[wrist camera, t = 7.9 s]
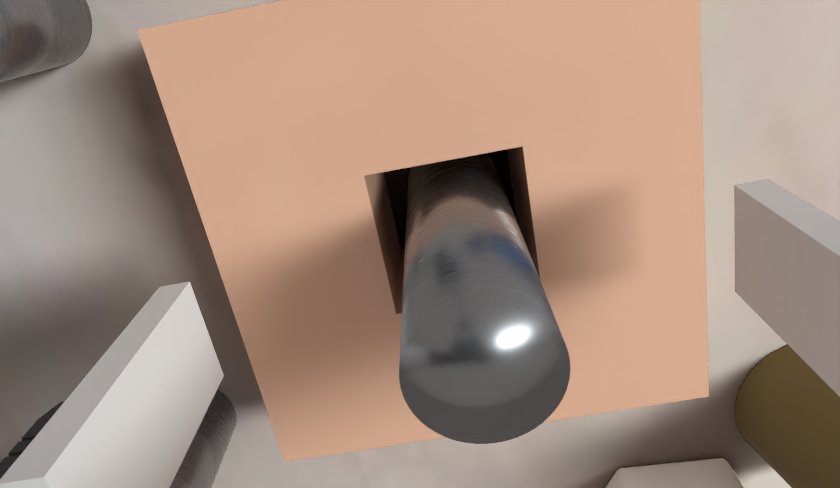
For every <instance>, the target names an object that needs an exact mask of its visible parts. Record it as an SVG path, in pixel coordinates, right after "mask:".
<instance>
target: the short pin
mask: <svg viewBox="0 0 840 488" xmlns="http://www.w3.org/2000/svg"><path fill="white" fill-rule="evenodd" d="M91 33H92V19H91V14H90V10H89V7H88V4H87V2H86V0H0V82H3V81H7V80H10V79H14V78H18V77H22V76H26V75H30V74H33V73H37V72H41V71H45V70H49V69H52V68H56V67H60V66H64V65H67V64H69V63H72V62H73V61H75V60H76V59H78V58H79V57H80V56H81V55H82V54H83V52H84V51H85V50H86V48H87V46H88V44H89V41H90V38H91Z"/></svg>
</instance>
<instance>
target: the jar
mask: <svg viewBox="0 0 840 488" xmlns="http://www.w3.org/2000/svg"><path fill="white" fill-rule="evenodd" d="M606 488H747V487H746V486H745V485H744V483H743V482H742V481H741V479H740V478H739V476H738V475H737V474H736V472H735V471H734V470H733V468H732V467H731V466H730V464H729V463H728V462H727V461H726V460H725V459H722V458H715V459H706V460H696V461H686V462H676V463H666V464H656V465H646V466H636V467H627V468H620V469H618V470H617V471H616V473H615V474H614V476H613V477H612V479H611V480H610V482H609V483H608V485H607V486H606Z"/></svg>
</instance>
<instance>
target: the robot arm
mask: <svg viewBox="0 0 840 488" xmlns="http://www.w3.org/2000/svg"><path fill="white" fill-rule="evenodd" d="M734 202H735V292H736V293H737V294H738V295H739V296H740V297H741V298H742V299H743V300H744V301H745V302H746V303H747V304H748V305H749V306H750V307H751V308H752V309H753V310H754V311H755V312H756V313H757V314H758V315H759V316H760V317H761V318H762V319H763V320H764V321H765V322H766V323H767V324H768V325H769V326H770V327H771V328H772V329H773V330H774V331H775V332H776V333H777V334H778V335H779V336H780V337H781V338H782V339H783V340H784V341H785V342H786V343H787V344H788V345H789V346H790V347H791V348H792V349H793V350H794V351H795V352H796V353H797V354H798V355H799V356H800V357H801V358H802V359H803V360H804V361H805V362H806V363H807V364H808V365H809V366H810V367H811V368H812V369H813V370H814V371H815V373H816V374H817V375H818V376H819V377H820V378H821V379H822V380H823V381H824V382H825V383H826V384H827V385H828V386H829V387H830V388H831V389H832V390H833V391H834V392H835V393H836V394H837V395H838V396H839V397H840V221H839V220H837V219H835V218H834V217H832V216H830V215H828V214H827V213H825V212H823V211H822V210H820V209H818V208H817V207H815V206H813V205H811V204H810V203H808V202H806V201H805V200H803V199H801V198H800V197H798V196H796V195H795V194H793V193H791V192H789V191H788V190H786V189H784V188H783V187H781V186H779V185H778V184H776V183H774V182H773V181H771V180H769V179H767V180H761V181H755V182H750V183H744V184H738V185H734ZM223 377H224V374H223V372H222V369H221V366H220V363H219V361H218V358H217V355H216V352H215V350H214V347H213V344H212V341H211V339H210V336H209V333H208V330H207V328H206V325H205V322H204V319H203V317H202V314H201V311H200V308H199V306H198V303H197V300H196V297H195V295H194V292H193V289H192V286H191V284H190V281H189V282H184V283H178V284H173V285H167V286H161V287H159V288H158V289H157V291H156V292H155V293H154V294H153V295H152V297H151V298H150V299H149V300H148V301H147V303H146V304H145V305H144V306H143V307H142V309H141V310H140V311H139V312H138V314H137V315H136V316H135V317H134V318H133V320H132V321H131V322H130V323H129V324H128V326H127V327H126V328H125V329H124V330H123V332H122V333H121V334H120V335H119V336H118V338H117V339H116V340H115V341H114V343H113V344H112V345H111V346H110V347H109V349H108V350H107V351H106V352H105V353H104V355H103V356H102V357H101V358H100V359H99V361H98V362H97V363H96V364H95V365H94V367H93V368H92V369H91V370H90V371H89V373H88V374H87V375H86V376H85V378H84V379H83V380H82V381H81V382H80V384H79V385H78V386H77V387H76V388H75V390H74V391H73V392H72V393H71V394H70V396H69V397H68V398H67V399H66V400H65V401H64V402H60V403H59V404H58V405H56V406H55V407H54V408H52V409H51V410H50V411H48V412H47V413H46V414H45V415H43V416H42V417H41V418H39V419H38V420H37V421H36V422H35V423H34V425H33V426H32V427H31V428H30V429H29V430H28V432H27V433H26V434H25V435H24V436H23V437H22V442H18V443H17V444H16V446H15V447H14V448H13V449H12V450H11V451H10V453H9V457H6V458H4V460H3V461H2V462H1V463H0V488H170V486H171V484H172V481H173V479H174V477H175V475H176V473H177V471H178V469H179V467H180V465H181V463H182V461H183V459H184V457H185V455H186V453H187V451H188V449H189V446H190V444H191V442H192V440H193V438H194V436H195V434H196V432H197V430H198V428H199V426H200V424H201V422H202V420H203V418H204V416H205V414H206V411H207V409H208V407H209V405H210V403H211V401H212V399H213V397H214V395H215V393H216V391H217V389H218V387H219V385H220V383H221V381H222V379H223Z"/></svg>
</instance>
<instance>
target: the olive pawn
mask: <svg viewBox="0 0 840 488" xmlns="http://www.w3.org/2000/svg"><path fill="white" fill-rule="evenodd" d="M734 408H735V416H736V425H737V426H738V428H739V430H740V432H741V433H742V435H743V437H744V438H745V440H746V441H747V442H748V443H749V444H750V445H751V446H752V447H753V448H754V449H755V450H756V451H757V452H758V453H759V454H760V455H761V456H762V457H763V458H764V460H765V461H766V462H767V463H768V464H769V465H770V466H771V467H772V468H773V469H774V470H775V471H776V472H777V473H778V474H779V475H780V476H781V477H782V478H783V479H784V480H785V481H786V482H787V483H788V484H789V485H790V486H791V487H792V488H840V397H839V396H838V395H837V394H836V393H835V392H834V391H833V390H832V389H831V388H830V387H829V386H828V385H827V384H826V383H825V382H824V381H823V380H822V379H821V378H820V377H819V376H818V375H817V374H816V373H815V371H814V370H813V369H812V368H811V367H810V366H809V365H808V364H807V363H806V362H805V361H804V360H803V359H802V358H801V357H800V356H799V355H798V354H797V353H796V352H795V351H794V350H793V349H792V348H791V347H790V346H789V345H786V346H784V347H782V348H780V349H778V350H776V351H774V352H772V353H770V354H769V355H768V356H767V357H765V358H764V359H763V360H762V361H761V362H760V363H759V364H757V365H756V366H755V367H754V368H753V369H752V370H751V371H750V373H749V374H748V376H747V377H746V379H745V380H744V382H743V383H742V385H741V386H740V388H739V392H738V395H737V399H736V403H735V406H734Z"/></svg>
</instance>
